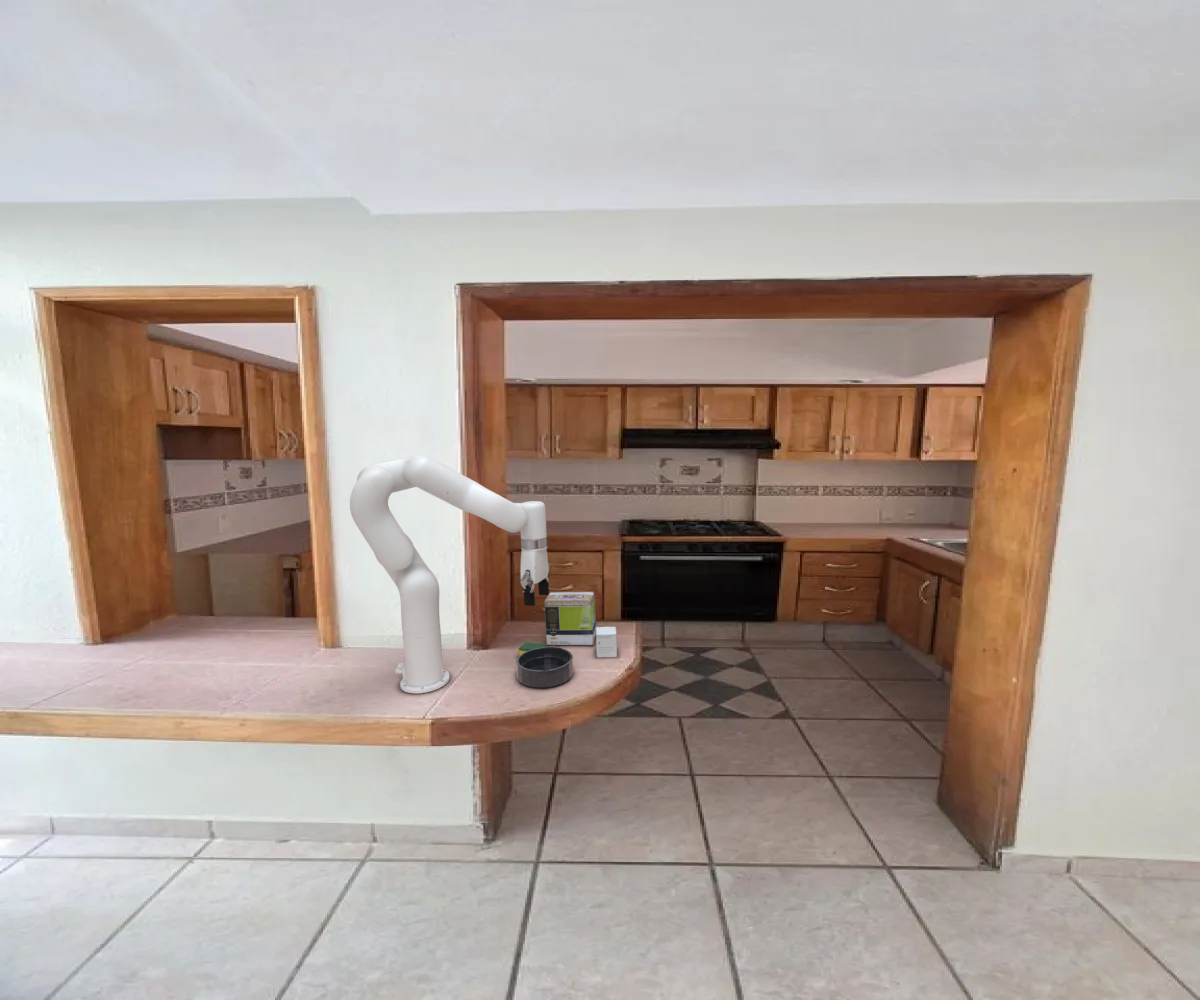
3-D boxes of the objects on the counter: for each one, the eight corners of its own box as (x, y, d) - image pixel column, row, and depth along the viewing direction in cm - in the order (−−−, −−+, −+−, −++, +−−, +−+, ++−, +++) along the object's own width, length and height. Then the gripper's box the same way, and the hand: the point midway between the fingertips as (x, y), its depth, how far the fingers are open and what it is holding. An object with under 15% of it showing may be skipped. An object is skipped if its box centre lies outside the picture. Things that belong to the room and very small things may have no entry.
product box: (596, 658, 146) (595, 634, 146) (596, 649, 152) (595, 626, 152) (617, 657, 146) (616, 633, 146) (616, 648, 152) (615, 625, 152)
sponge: (519, 657, 148) (518, 647, 148) (526, 651, 153) (525, 641, 152) (540, 660, 146) (540, 650, 146) (546, 653, 150) (546, 644, 150)
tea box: (596, 634, 165) (595, 590, 163) (593, 646, 155) (591, 600, 153) (551, 633, 166) (550, 590, 164) (545, 645, 156) (543, 600, 154)
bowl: (507, 685, 131) (506, 667, 131) (532, 660, 146) (531, 644, 145) (560, 692, 127) (559, 674, 126) (580, 666, 141) (580, 650, 140)
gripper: (535, 537, 155) (538, 590, 157) (508, 549, 139) (511, 608, 141) (557, 538, 152) (560, 592, 155) (532, 550, 136) (535, 610, 138)
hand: (537, 599), depth 148 cm, fingers open, 9 cm apart
